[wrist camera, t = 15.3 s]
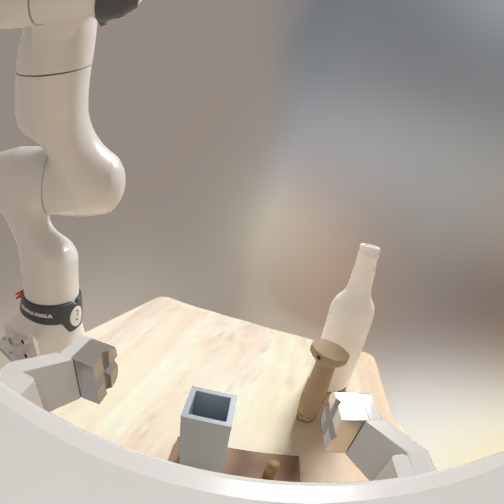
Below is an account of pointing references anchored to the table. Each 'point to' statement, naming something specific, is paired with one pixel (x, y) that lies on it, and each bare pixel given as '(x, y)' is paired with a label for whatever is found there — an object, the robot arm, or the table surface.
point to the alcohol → (352, 315)
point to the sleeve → (206, 429)
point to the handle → (320, 376)
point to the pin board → (255, 464)
